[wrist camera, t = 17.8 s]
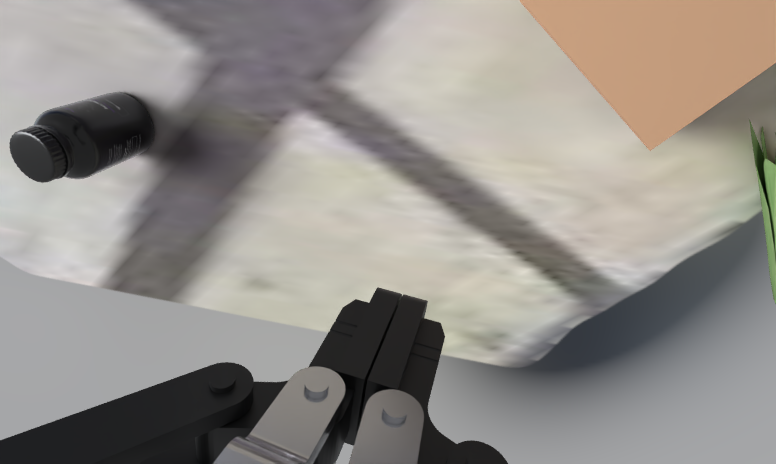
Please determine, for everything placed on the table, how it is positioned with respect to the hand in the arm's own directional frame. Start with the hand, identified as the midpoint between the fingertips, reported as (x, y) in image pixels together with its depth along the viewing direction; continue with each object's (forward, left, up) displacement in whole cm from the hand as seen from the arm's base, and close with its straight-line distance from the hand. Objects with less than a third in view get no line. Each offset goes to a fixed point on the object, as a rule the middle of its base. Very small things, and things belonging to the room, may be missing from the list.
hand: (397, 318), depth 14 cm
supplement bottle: (-37, -11, -33) cm, 51 cm away
